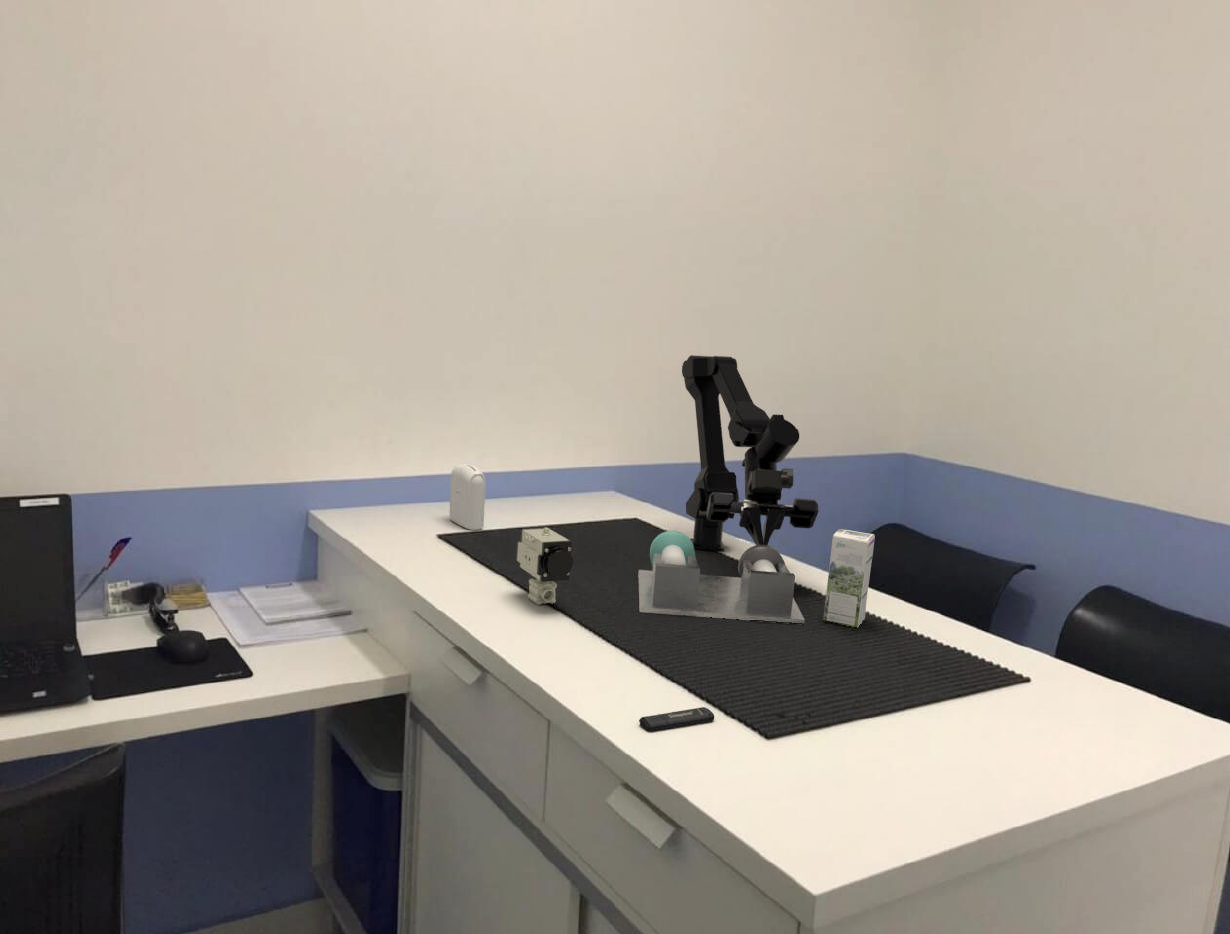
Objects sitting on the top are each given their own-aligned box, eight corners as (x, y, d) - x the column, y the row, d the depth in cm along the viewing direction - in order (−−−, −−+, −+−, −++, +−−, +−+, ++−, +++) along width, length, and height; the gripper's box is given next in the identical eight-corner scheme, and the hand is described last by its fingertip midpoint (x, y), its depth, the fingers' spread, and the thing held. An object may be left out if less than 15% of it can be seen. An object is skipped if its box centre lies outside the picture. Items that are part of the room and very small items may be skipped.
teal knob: (648, 572, 182) (651, 528, 180) (692, 575, 182) (696, 532, 180) (649, 591, 170) (653, 545, 169) (696, 594, 170) (700, 548, 169)
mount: (638, 574, 184) (641, 533, 183) (784, 585, 184) (788, 545, 183) (639, 612, 163) (643, 566, 161) (804, 624, 163) (809, 579, 161)
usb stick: (647, 736, 119) (648, 723, 119) (636, 727, 122) (637, 714, 121) (715, 724, 124) (716, 712, 124) (703, 716, 126) (704, 704, 126)
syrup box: (865, 619, 168) (876, 533, 165) (857, 629, 162) (868, 540, 160) (830, 612, 170) (840, 527, 167) (822, 622, 165) (832, 534, 162)
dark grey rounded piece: (736, 587, 177) (740, 542, 175) (781, 590, 177) (786, 546, 175) (743, 607, 165) (748, 560, 164) (792, 611, 165) (797, 564, 164)
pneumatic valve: (539, 589, 171) (544, 518, 168) (570, 611, 161) (576, 536, 158) (508, 592, 168) (512, 520, 166) (538, 614, 158) (543, 538, 156)
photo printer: (446, 519, 214) (449, 460, 211) (465, 518, 216) (468, 460, 214) (466, 531, 205) (469, 470, 203) (486, 529, 207) (489, 469, 205)
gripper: (714, 446, 178) (714, 523, 169) (822, 454, 178) (827, 532, 169) (706, 482, 187) (706, 557, 178) (809, 489, 187) (814, 565, 178)
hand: (763, 552), depth 176 cm, fingers closed, pressing on dark grey rounded piece
